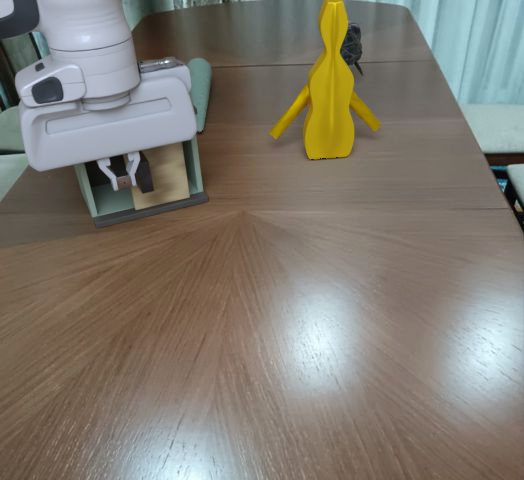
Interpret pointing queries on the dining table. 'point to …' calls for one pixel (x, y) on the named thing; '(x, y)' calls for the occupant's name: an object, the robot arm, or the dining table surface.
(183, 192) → the closet door
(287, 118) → the figure statuette
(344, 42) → the dark grey lumpy shape
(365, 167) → the dining table surface
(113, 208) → the closet
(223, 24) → the dining table surface
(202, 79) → the mint green cone
